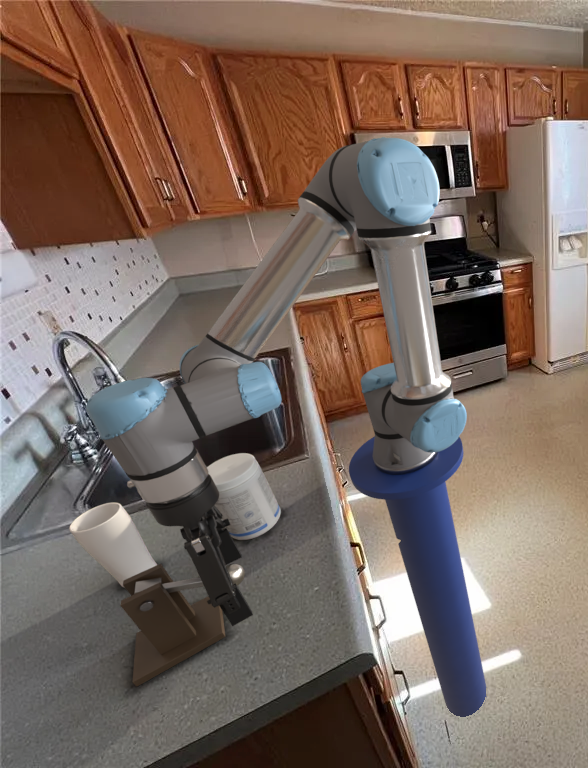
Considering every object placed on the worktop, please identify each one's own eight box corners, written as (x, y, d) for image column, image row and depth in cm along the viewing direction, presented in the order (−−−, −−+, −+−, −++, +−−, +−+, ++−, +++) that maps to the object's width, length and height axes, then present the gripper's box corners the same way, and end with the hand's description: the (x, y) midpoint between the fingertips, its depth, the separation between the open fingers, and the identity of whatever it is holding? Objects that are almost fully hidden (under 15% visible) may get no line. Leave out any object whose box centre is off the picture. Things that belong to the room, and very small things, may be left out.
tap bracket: (220, 595, 70) (187, 543, 64) (225, 637, 64) (188, 582, 58) (139, 637, 65) (94, 584, 59) (136, 687, 58) (85, 633, 52)
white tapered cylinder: (109, 585, 74) (59, 525, 67) (151, 556, 79) (109, 497, 72) (129, 599, 71) (79, 537, 64) (171, 567, 76) (130, 507, 69)
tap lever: (241, 575, 68) (244, 557, 68) (244, 590, 66) (247, 571, 65) (134, 595, 60) (136, 574, 59) (132, 614, 57) (134, 592, 56)
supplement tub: (254, 504, 90) (227, 450, 83) (292, 508, 88) (267, 453, 81) (218, 540, 81) (184, 483, 74) (259, 545, 79) (228, 487, 72)
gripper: (148, 456, 64) (205, 551, 74) (138, 560, 46) (216, 667, 56) (204, 437, 68) (252, 529, 78) (216, 526, 50) (276, 632, 60)
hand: (237, 587), depth 67 cm, fingers open, 13 cm apart
